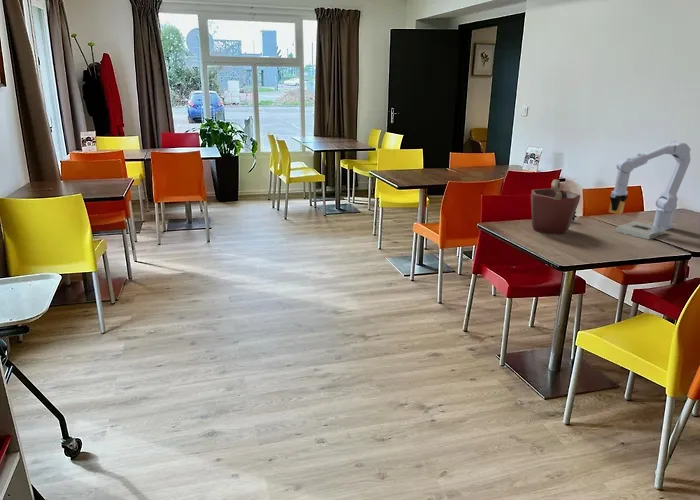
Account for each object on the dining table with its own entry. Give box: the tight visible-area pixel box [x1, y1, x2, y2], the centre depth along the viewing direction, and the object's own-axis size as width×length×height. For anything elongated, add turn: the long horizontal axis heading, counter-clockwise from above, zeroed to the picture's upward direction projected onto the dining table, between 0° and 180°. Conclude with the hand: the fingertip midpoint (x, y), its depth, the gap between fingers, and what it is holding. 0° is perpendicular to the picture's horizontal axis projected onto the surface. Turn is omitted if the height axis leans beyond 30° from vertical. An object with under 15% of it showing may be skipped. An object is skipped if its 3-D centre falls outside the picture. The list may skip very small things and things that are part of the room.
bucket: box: [530, 179, 581, 235], centre depth 250 cm, size 24×22×25 cm
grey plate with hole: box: [615, 220, 668, 240], centre depth 254 cm, size 20×16×2 cm
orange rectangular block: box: [608, 201, 626, 215], centre depth 263 cm, size 4×6×6 cm
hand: (616, 209), depth 264 cm, fingers closed on orange rectangular block, 4 cm apart
